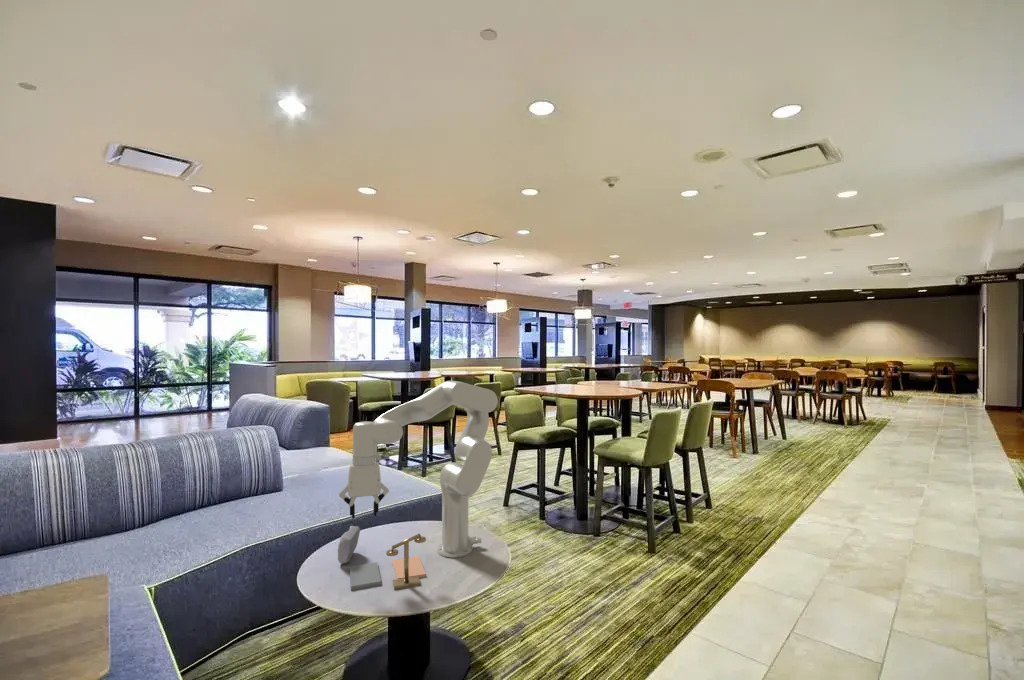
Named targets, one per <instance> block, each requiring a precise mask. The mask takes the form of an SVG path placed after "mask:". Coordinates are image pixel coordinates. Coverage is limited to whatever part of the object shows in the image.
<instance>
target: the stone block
mask: <svg viewBox="0 0 1024 680" xmlns="http://www.w3.org/2000/svg"><path fill="white" fill-rule="evenodd" d="M360 532H361V527H360V526H357V525H356V526H354V525H351V526H349V529H348V530H347V531H345V532H344V533H343V534H342V535H341V537H340V538H339V542H338V544H337V545H338V548H337V560H338V561H337V562H339V563H340V564H343V565H344V564H347V563H349V562H350V560H351V559H352V556H353V555H354V552H355V550H356V548H357V546H358V542H359V537H360Z"/></svg>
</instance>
